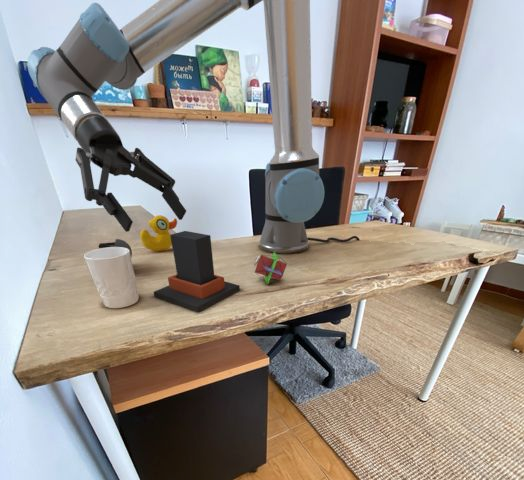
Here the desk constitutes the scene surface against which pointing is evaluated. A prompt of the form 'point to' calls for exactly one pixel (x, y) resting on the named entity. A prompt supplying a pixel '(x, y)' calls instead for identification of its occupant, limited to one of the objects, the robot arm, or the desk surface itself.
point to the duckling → (163, 236)
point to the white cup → (113, 276)
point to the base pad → (196, 292)
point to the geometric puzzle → (270, 267)
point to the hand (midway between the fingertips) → (158, 220)
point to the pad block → (193, 257)
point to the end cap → (116, 245)
